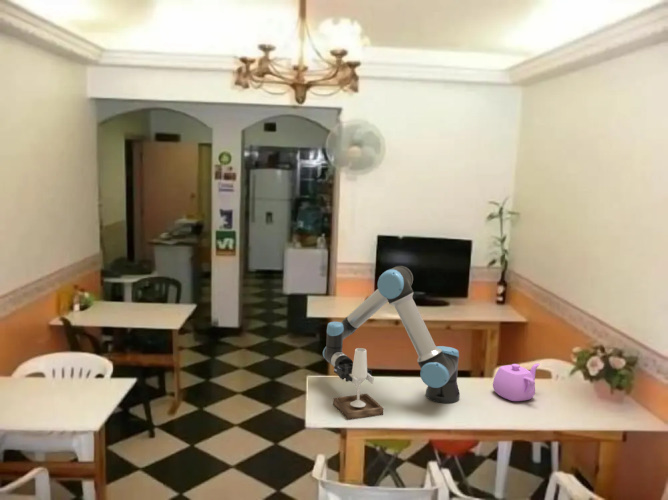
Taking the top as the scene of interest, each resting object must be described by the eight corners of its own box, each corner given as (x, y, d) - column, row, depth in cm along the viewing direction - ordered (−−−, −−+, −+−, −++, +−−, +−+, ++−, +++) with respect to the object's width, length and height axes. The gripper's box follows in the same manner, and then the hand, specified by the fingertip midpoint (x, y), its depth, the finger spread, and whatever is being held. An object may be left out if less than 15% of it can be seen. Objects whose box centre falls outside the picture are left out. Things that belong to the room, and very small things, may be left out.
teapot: (517, 409, 268) (520, 376, 266) (486, 391, 287) (489, 360, 285) (556, 402, 278) (559, 370, 275) (524, 385, 297) (527, 355, 294)
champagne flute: (348, 406, 258) (351, 351, 254) (351, 400, 264) (354, 346, 260) (364, 408, 257) (367, 353, 253) (366, 401, 263) (369, 348, 259)
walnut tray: (366, 400, 271) (366, 393, 271) (383, 414, 257) (383, 408, 256) (333, 404, 265) (333, 397, 264) (348, 419, 250) (348, 413, 250)
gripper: (361, 368, 279) (385, 387, 258) (321, 373, 272) (342, 392, 251) (362, 353, 278) (386, 370, 257) (322, 357, 270) (343, 375, 249)
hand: (364, 381), depth 254 cm, fingers closed on champagne flute, 7 cm apart
